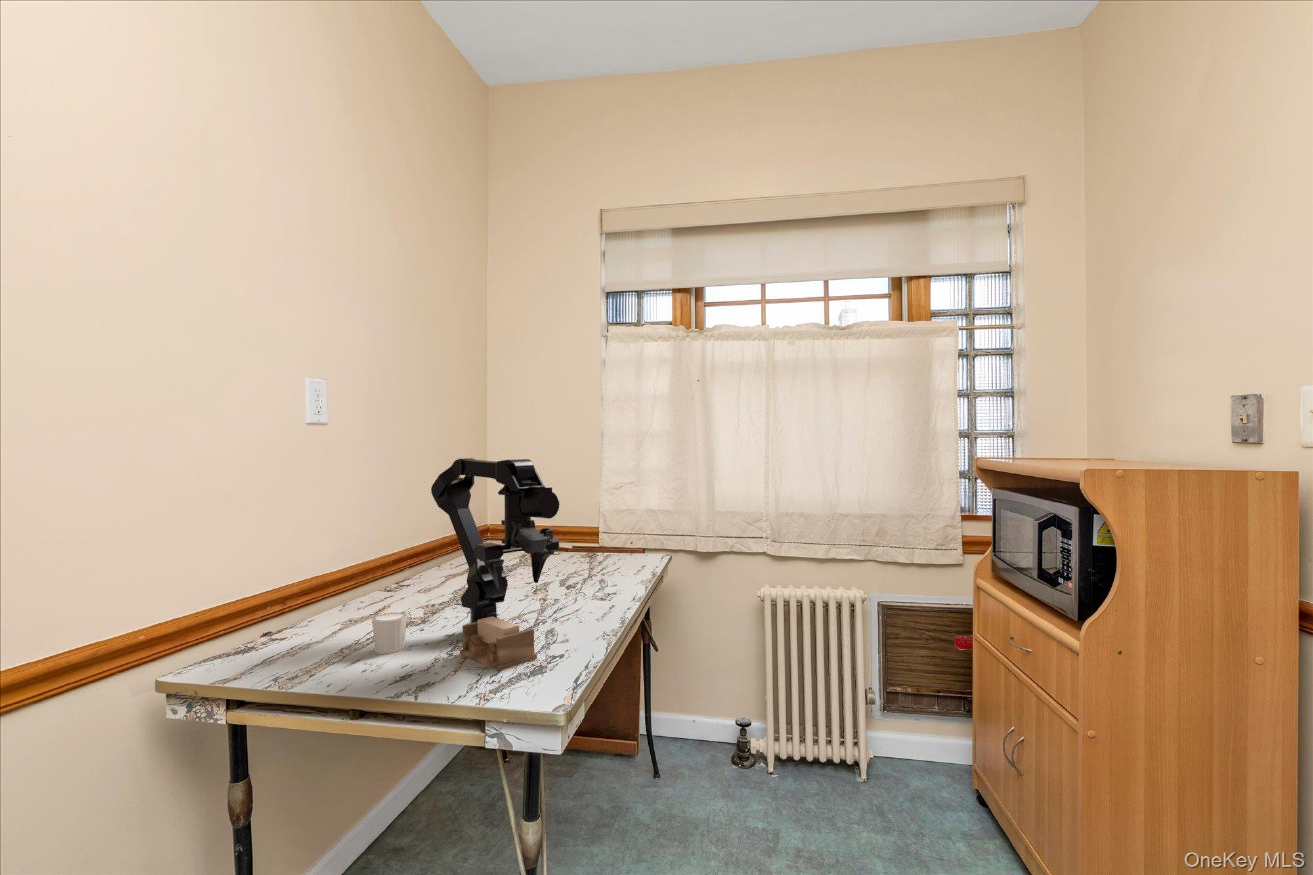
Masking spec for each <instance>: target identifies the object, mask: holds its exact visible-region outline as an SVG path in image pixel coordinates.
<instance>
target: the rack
mask: <svg viewBox="0 0 1313 875" xmlns="http://www.w3.org/2000/svg"><path fill="white" fill-rule="evenodd" d="M496 618H499V617H498V616H497V617H496ZM459 654H460V655H462V656H464V657H466V658H469V659H470V660H473V661H475V662H478V663H480V664H482V665H485V666H487V667H488V668H491V669H494V670H495V671H497V672H498V671H500V670H505V669H508V668H510V667H513V666H517V665H520V664H523V663H525V662H530V661H533V660H536V659H538V654H537V653H535V629H533V628H529V629H525V630H522V631H519V632H517V633H514V634H510V635H506V636H503V637H499V638H496V643H495V642H491V643H489V644H488V643H486V642H483V641H481V640H480V636H478V622H474V623H471V622H469V623H467V624H463V625H462V649H459Z"/></svg>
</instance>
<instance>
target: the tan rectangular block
mask: <svg viewBox="0 0 1313 875" xmlns="http://www.w3.org/2000/svg"><path fill="white" fill-rule="evenodd" d="M517 632H520V625H519V624H516V623H513V622H510V621H507V620H505V619H502V618H499V617H498V618H496V617H493V616H492V617H488V618H484V619H480V620H478V636H480V640H481V641H483V642H486V643H488V644H489V643H491V642H495V643H496V638H499V637H503V636H506V635H510V634H514V633H517Z"/></svg>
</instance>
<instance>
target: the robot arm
mask: <svg viewBox="0 0 1313 875" xmlns="http://www.w3.org/2000/svg"><path fill="white" fill-rule="evenodd" d="M461 476H463V477H461ZM475 477H479V478H488V479H493V480H495V481H496V482H497V483H499V484H501V485H503V487H502V488H500V489H499V491H498V492H497V494H498V495H499V496H504V498H503V499H504V519H501V521H500V522H501V526H504V538H501V544H499V543H494V542H487V543H486V542H485V543H484V542H483V539H482V536H481V533H480V532H479V529H478V526H477V524H476V522H475V520H474V516H473V514H472V511H471V509H470V501H471V498H472V497H471V496H472V494H471V490H472V488H473V487H474V485H475ZM430 488H431V489H430V490H431V492H430V493H431V495H432V498H433V499H434V501H435V503H436V506H437V507H438V508H439V509H441V510H442V511H443V512H444V513H446V514H447V515H448V516H449V519H450V523H451V525H452V527H453V530H454V532H455V535H456V537H457V540H458V542H459V545H460V547H461V550H462V554H463V556H464V558H465V561H466V564H467V567H468V572H467V577H466V584H467V588H466V590H464V592H463V593H462V595H461V596H460V603H461V606H462V608H466V609H468V610H469V609H470V616H469V618H470V622H469V623H474V622H478V620H480V619H484V618H488V617H492V616H493V617H498V612H497V611H498V610H497V604H498V603H504V602H505V597H506V593H507V591H508V586H509V584H508V579H507V577H508V575H507V573H506V572H505V570H504V567H503V566H504V562H505V559H501V558H502V557H503V556H504V555H505V554H510V553H516V552H524V553H526V554H528V555H530V559H531V561H530V562H531V572H532V573H531V574H532V580H533V583H535V584H538V583H539V580H540V578H541V575H542V571H543V568H544V566H545V564H546V561H547V559H548V558H549V557H551V555H554V554H555V552H556V551H558V550H560V540H559V539H558V537H557V536H554V532H553V529H552V528H551V527H544V528H541V529H537V528H536V523H535V519H532V518H536V519H537V518H539V519H548V520H549V519H552V518H554V517H555V516H556V515H557V514H558V512H559V510H560V500H559V498H558V496H557V494H556V493H555V492H553V486H550V485H547V486H545V484H544V482H543V479H542V478H541V477H540V474H539V473H538V471H537V469H536V467H535V465H534V464H533V461H532V460H531V459H529V458H524V459H523V458H522V459H521V458H520V459H519V458H518V459H504V460H498V461H494V460H493V461H491V460H483V459H475V458H474V457H472V458H469V457H468V458H466V457H465V458H457V459H455V460H454V461H453V463H452V464H451V466H449V467H448V468H446V469H445V470H444V471H443V472H441V473H439V475H438V476H437V478H436V479H435V481H434V482H433V483H432V485H431V487H430Z"/></svg>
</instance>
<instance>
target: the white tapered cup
mask: <svg viewBox="0 0 1313 875" xmlns="http://www.w3.org/2000/svg"><path fill="white" fill-rule="evenodd" d="M407 617H408V614H406V613H404V612H388V613H383V614H379V615H376V616H373V617H372V618H371V623H372V624H371V625H372V634H373V642H374V650H375V653H376V654H379V655H380V654H382V655H384V654H394V653H397V652H400V651H402V650H404V648H405V640H406V628H407Z"/></svg>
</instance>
